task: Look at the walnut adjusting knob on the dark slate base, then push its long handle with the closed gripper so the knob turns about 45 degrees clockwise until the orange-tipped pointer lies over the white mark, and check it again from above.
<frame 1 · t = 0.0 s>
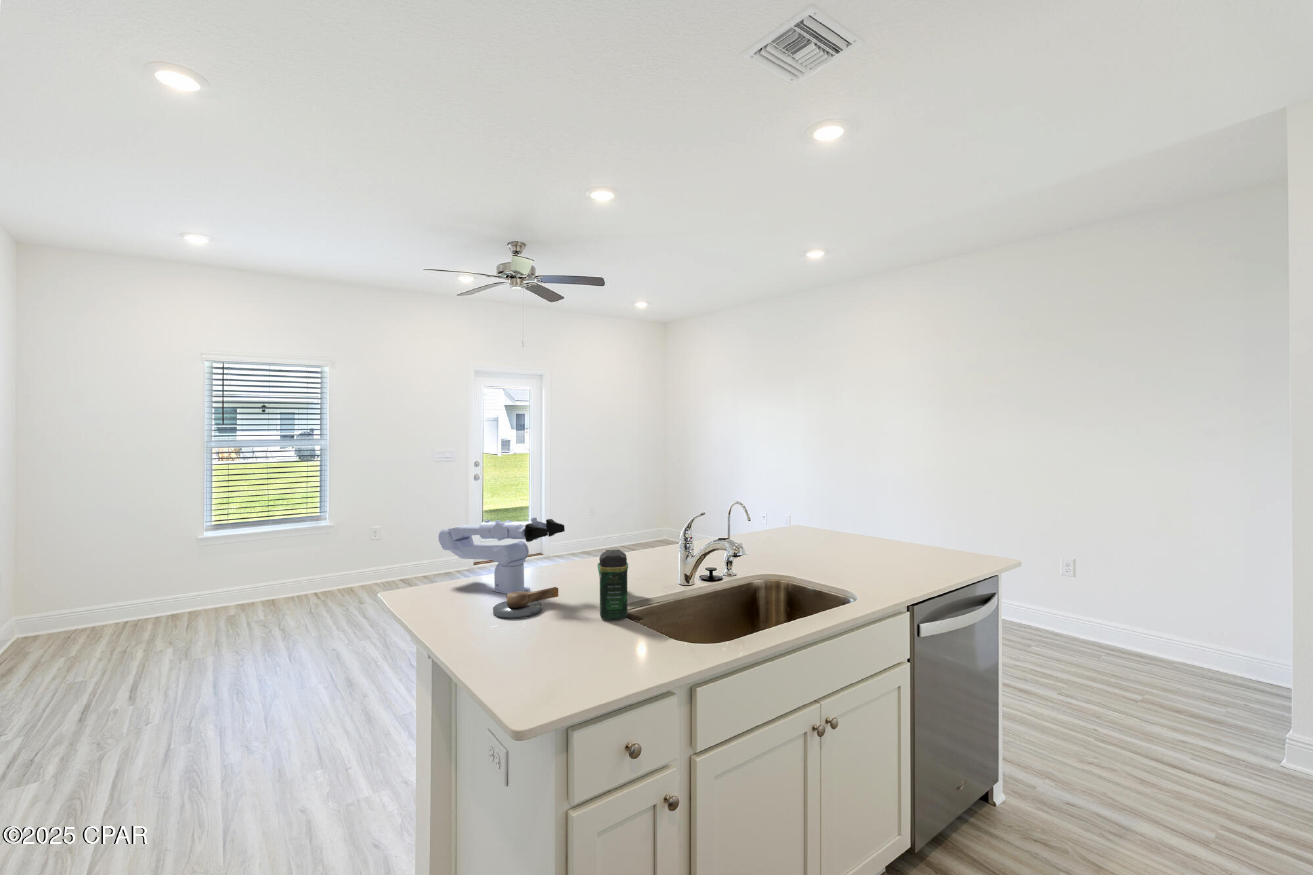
hand: (555, 530, 185), 22 cm above the worktop, tool horizontal, fingers open, 7 cm apart
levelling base: (517, 611, 174), on the worktop
mug: (611, 593, 191), on the worktop
coffee jar: (614, 616, 169), on the worktop
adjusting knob: (533, 596, 177), point 4 cm above the worktop, hinge at 0.0°
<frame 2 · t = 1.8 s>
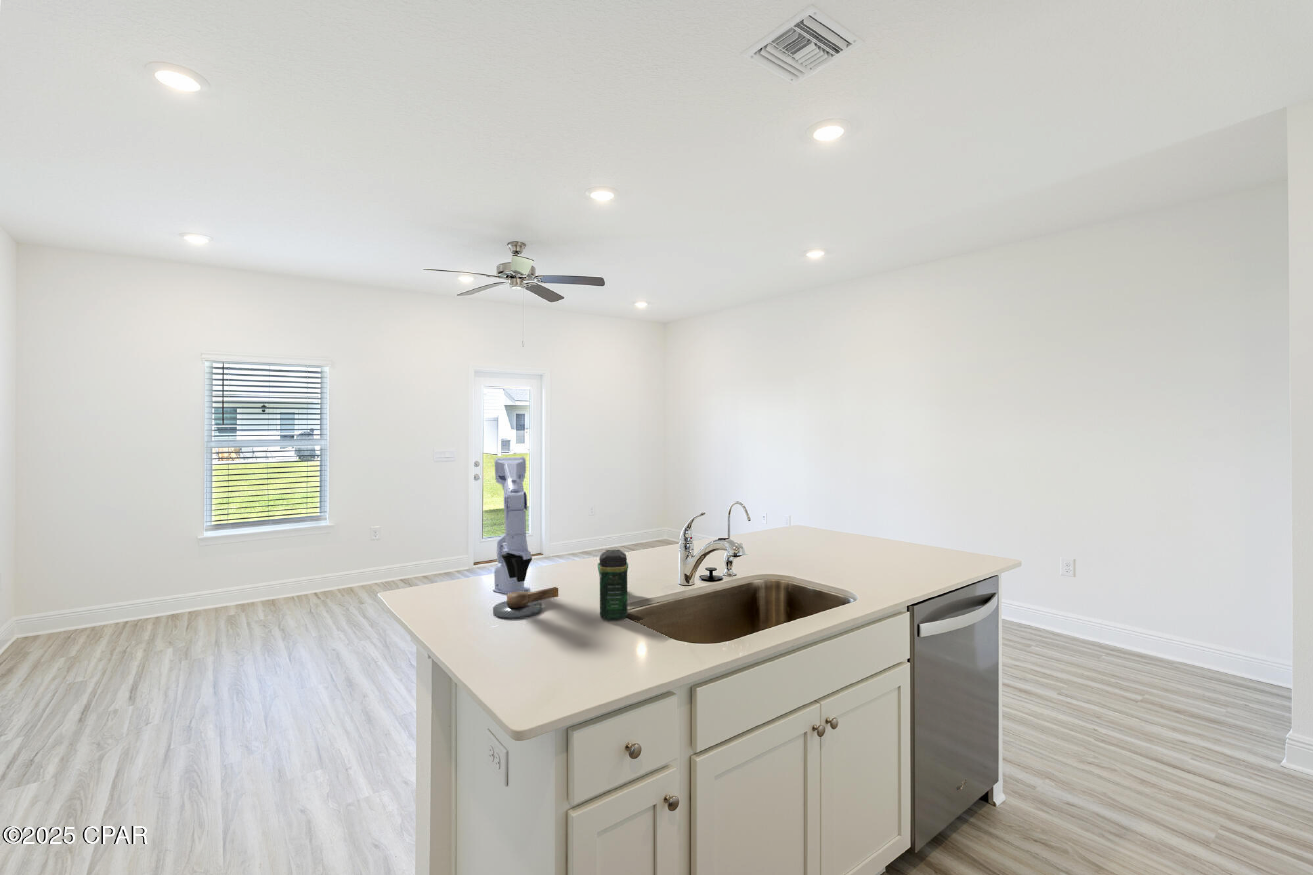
hand: (517, 579, 174), 9 cm above the worktop, tool pointing down, fingers open, 5 cm apart
nothing on the worktop moved.
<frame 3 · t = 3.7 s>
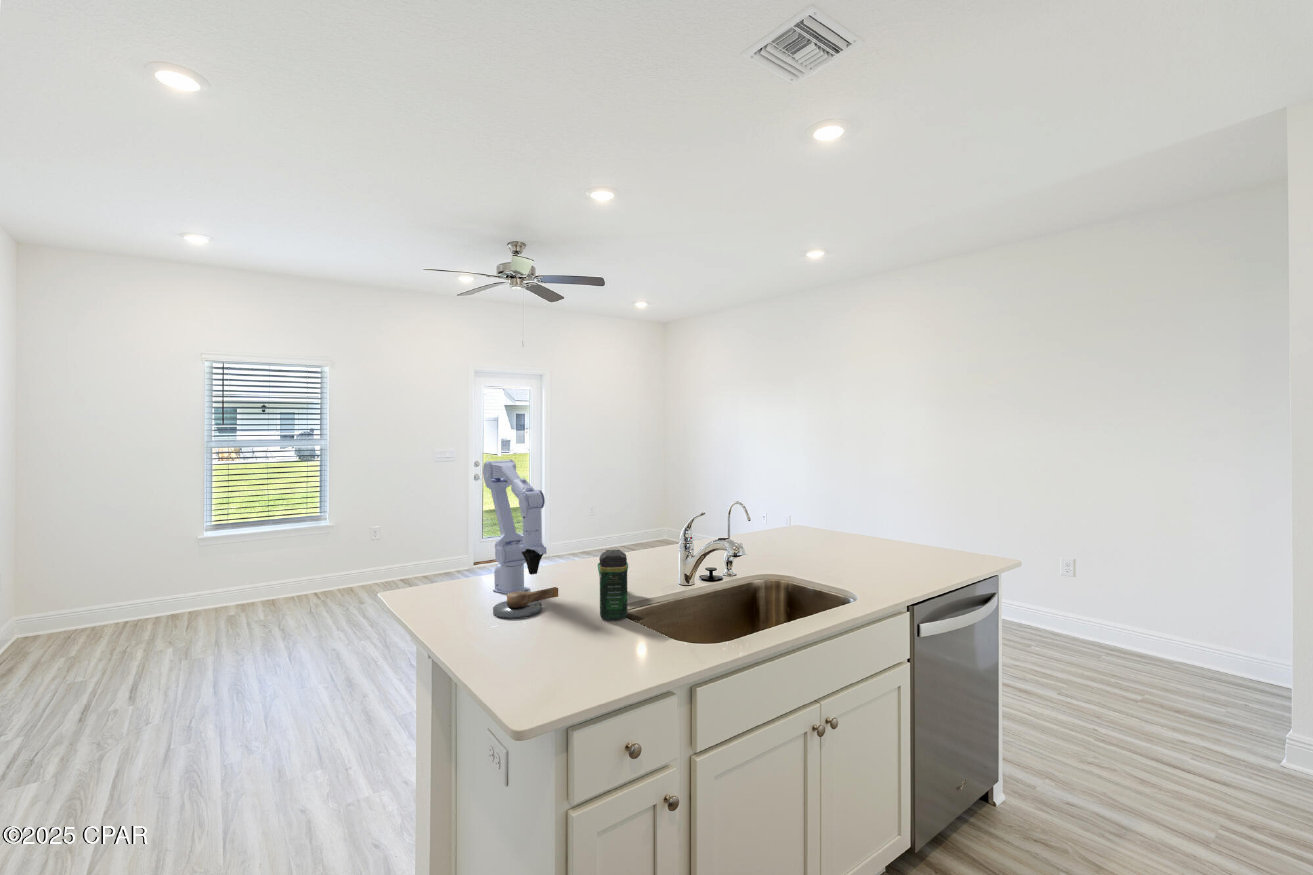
hand: (533, 573, 183), 9 cm above the worktop, tool pointing down, fingers closed
nothing on the worktop moved.
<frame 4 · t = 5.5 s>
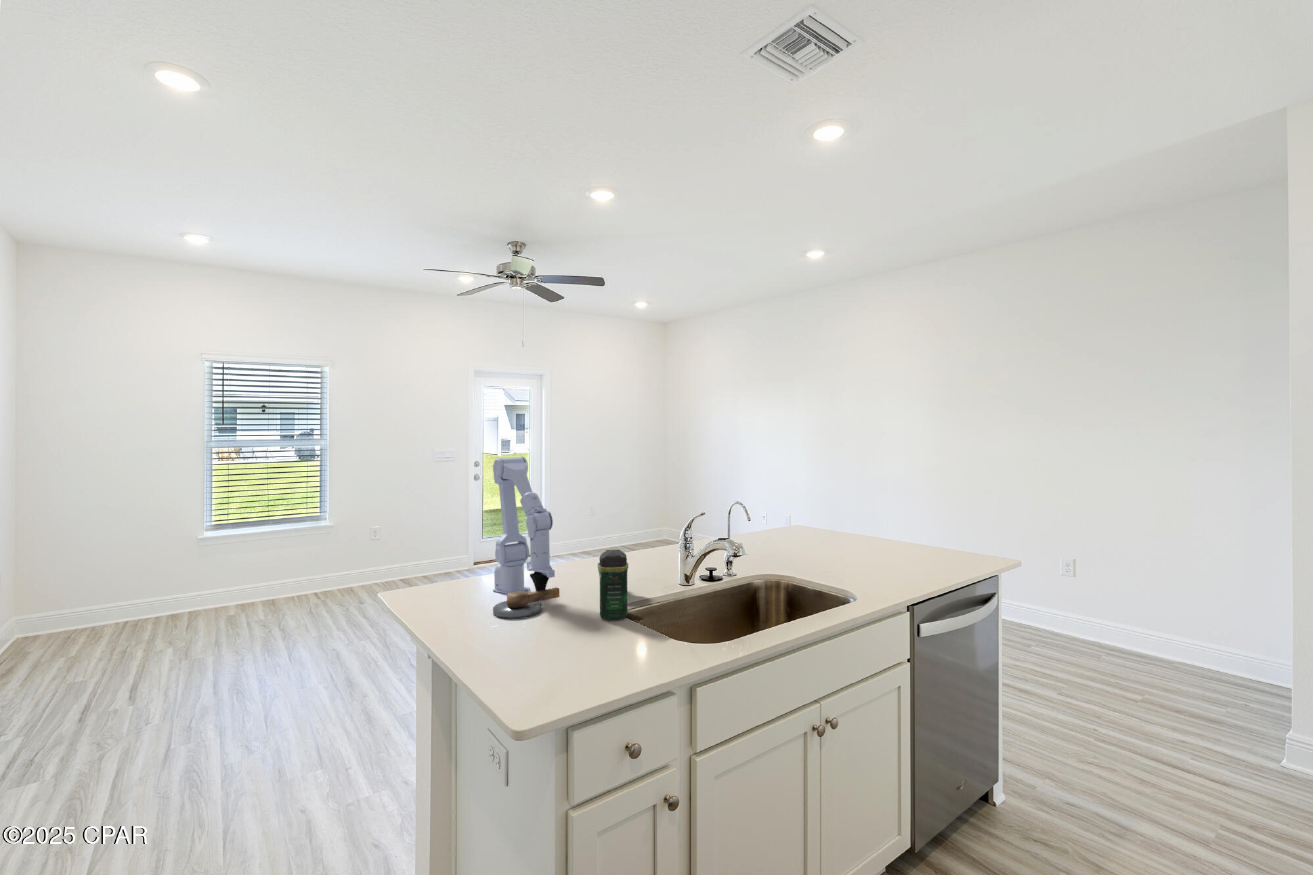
hand: (540, 596, 180), 3 cm above the worktop, tool pointing down, fingers closed, pressing on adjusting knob
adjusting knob: (533, 596, 177), point 4 cm above the worktop, hinge at -3.6°, touching gripper
everything else where it was.
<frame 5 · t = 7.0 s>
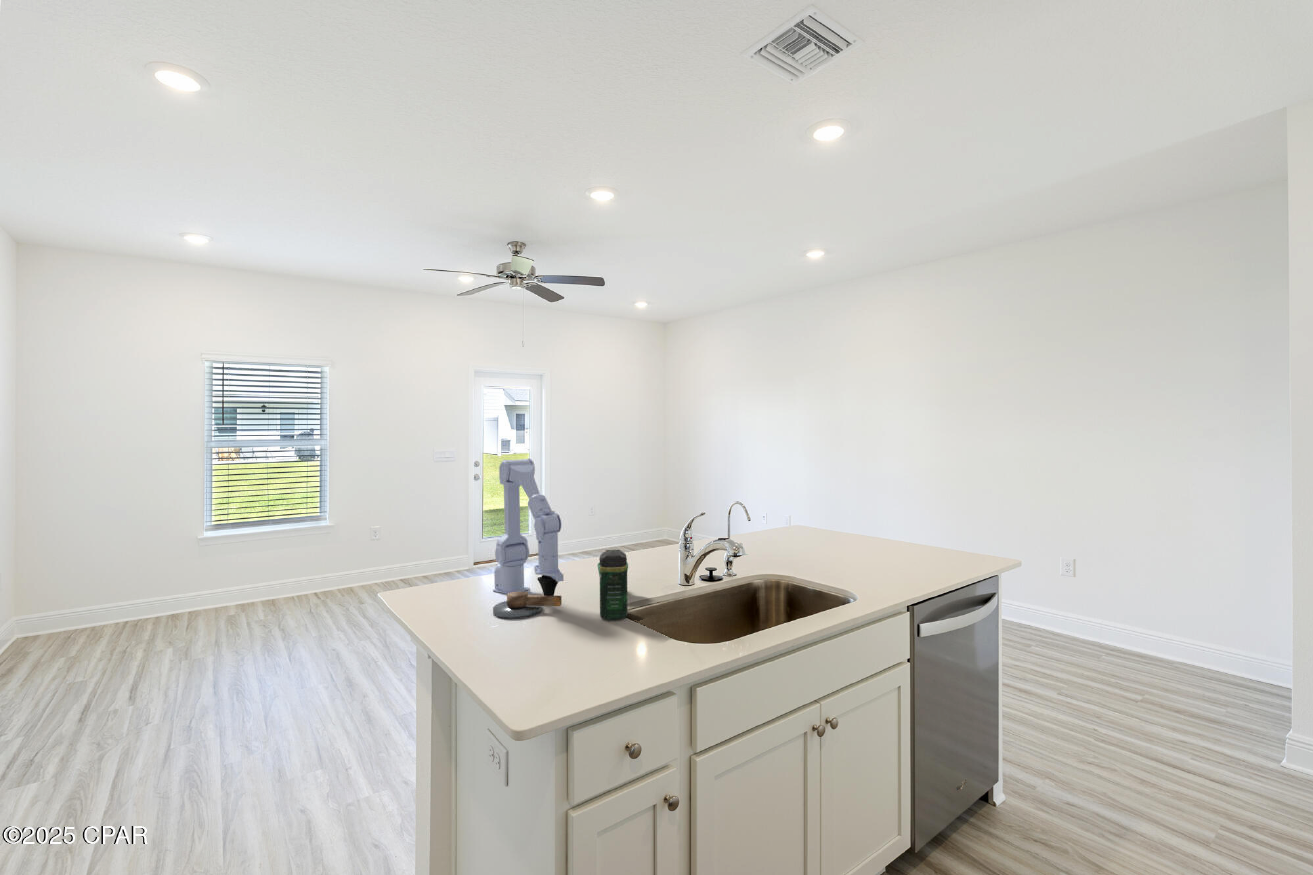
hand: (549, 600, 176), 3 cm above the worktop, tool pointing down, fingers closed
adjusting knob: (534, 599, 174), point 3 cm above the worktop, hinge at -44.6°, touching gripper
everything else where it was.
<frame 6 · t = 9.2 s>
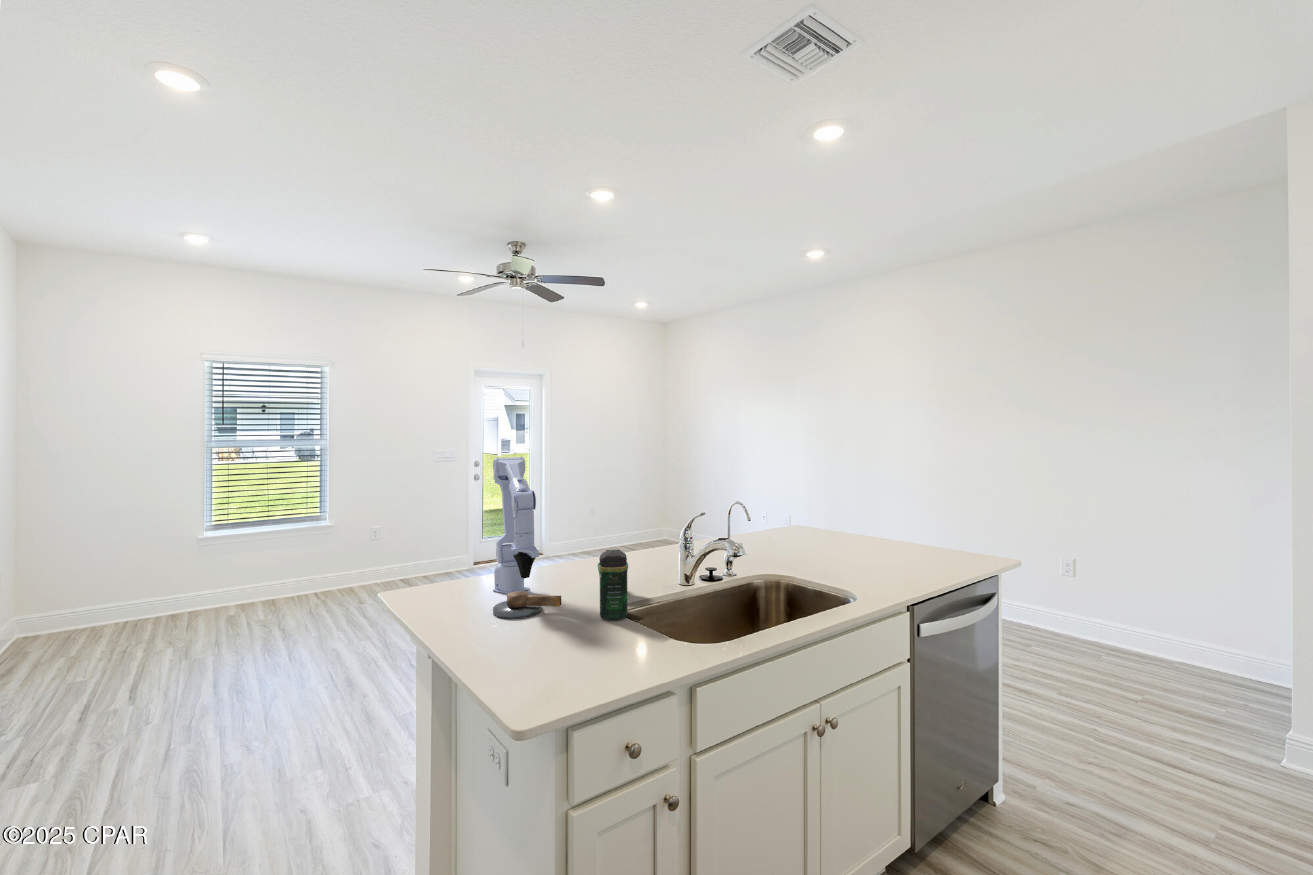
hand: (525, 577, 176), 9 cm above the worktop, tool pointing down, fingers closed
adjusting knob: (533, 599, 173), point 4 cm above the worktop, hinge at -44.8°
everything else where it was.
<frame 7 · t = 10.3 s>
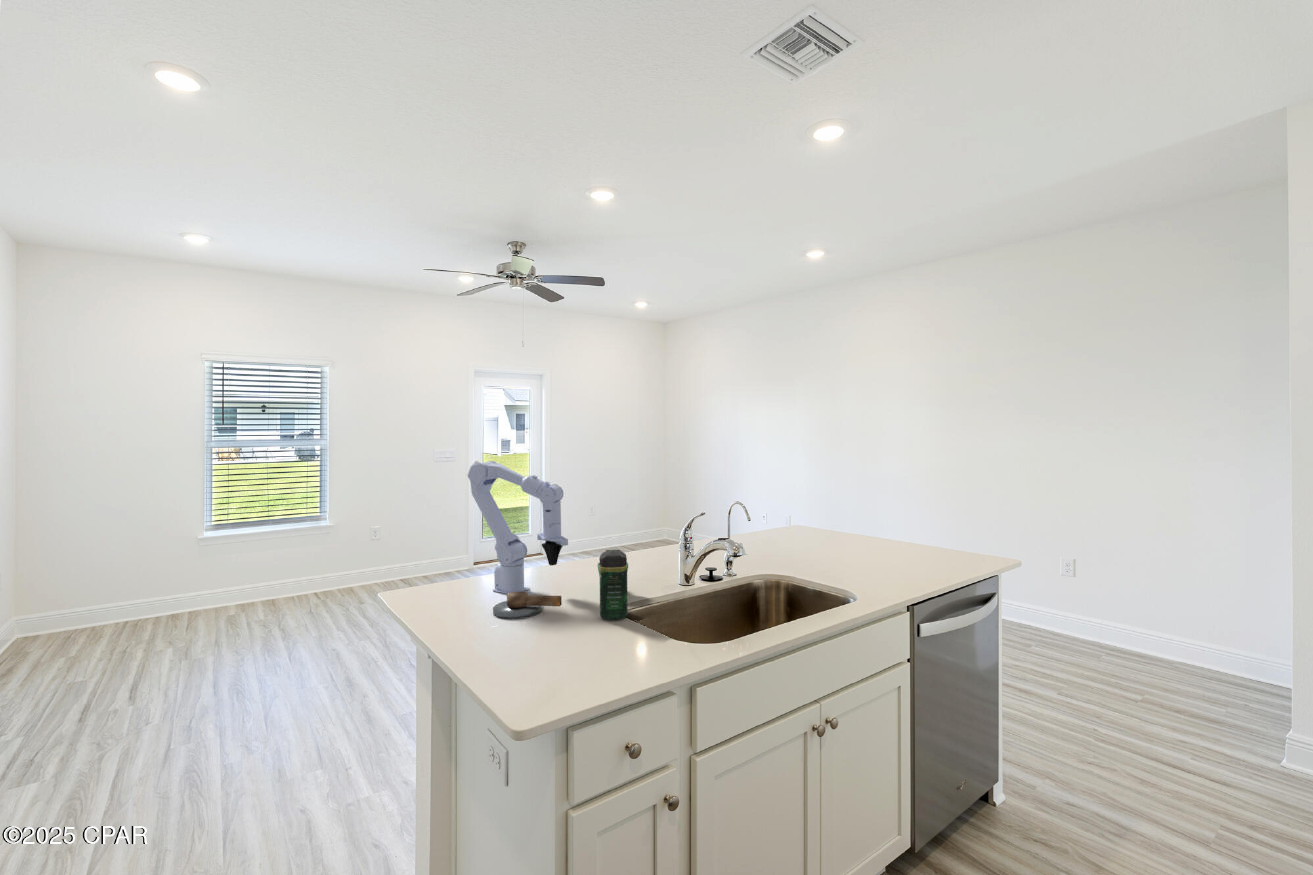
hand: (552, 564, 191), 9 cm above the worktop, tool pointing down, fingers closed
nothing on the worktop moved.
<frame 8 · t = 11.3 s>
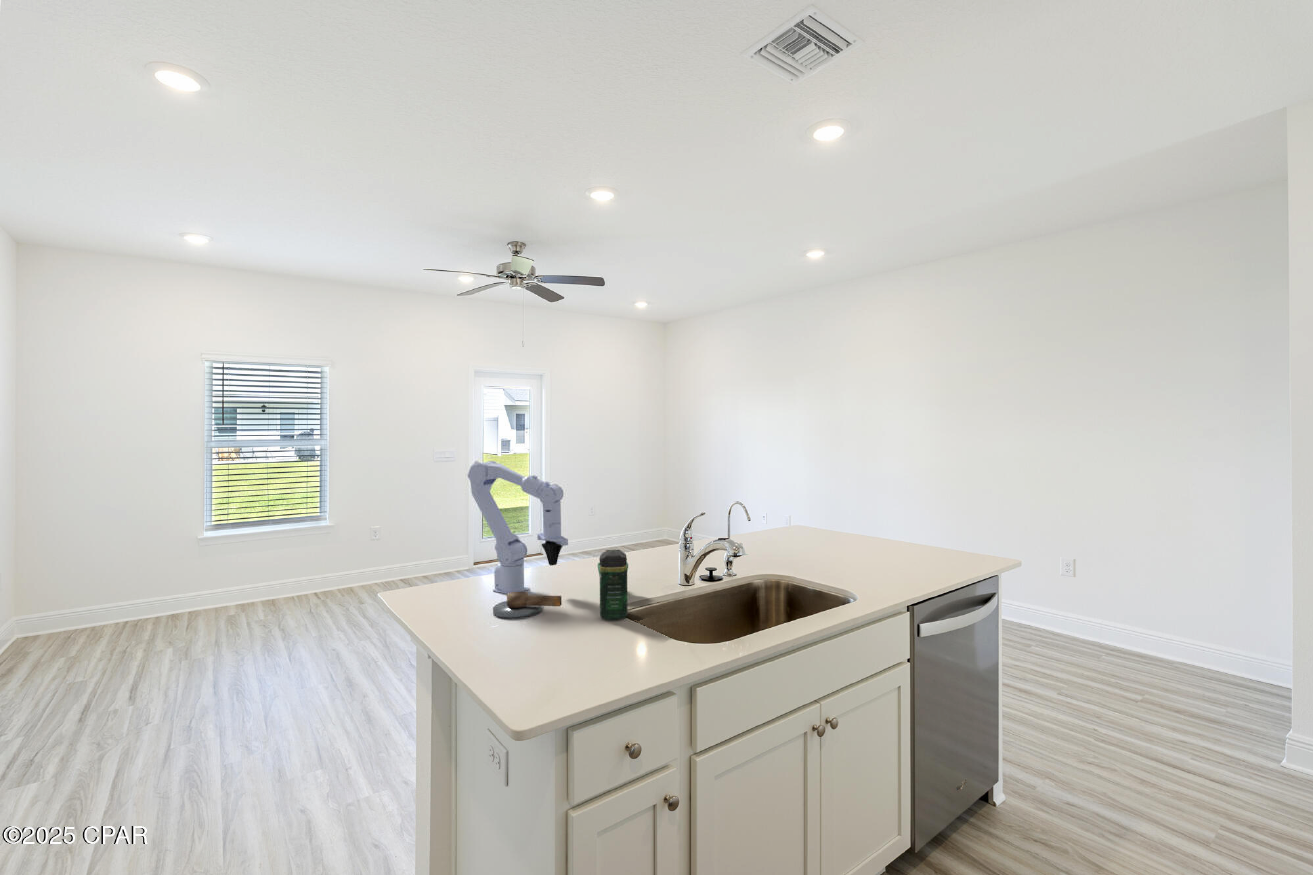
hand: (552, 564, 191), 9 cm above the worktop, tool pointing down, fingers closed
nothing on the worktop moved.
at the end: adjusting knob at -45° (first picture: +0°) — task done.
